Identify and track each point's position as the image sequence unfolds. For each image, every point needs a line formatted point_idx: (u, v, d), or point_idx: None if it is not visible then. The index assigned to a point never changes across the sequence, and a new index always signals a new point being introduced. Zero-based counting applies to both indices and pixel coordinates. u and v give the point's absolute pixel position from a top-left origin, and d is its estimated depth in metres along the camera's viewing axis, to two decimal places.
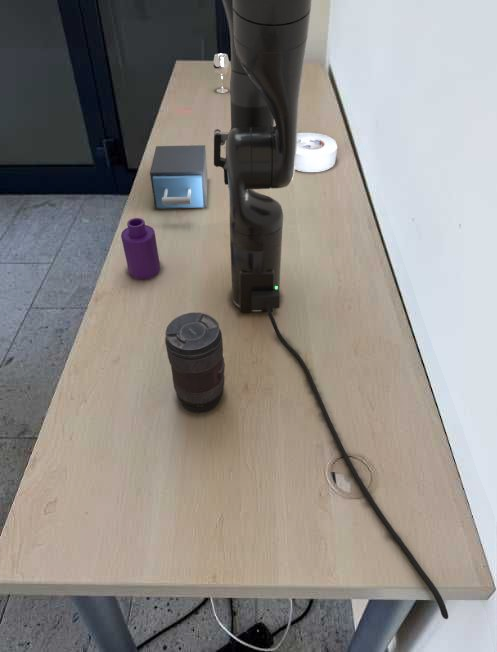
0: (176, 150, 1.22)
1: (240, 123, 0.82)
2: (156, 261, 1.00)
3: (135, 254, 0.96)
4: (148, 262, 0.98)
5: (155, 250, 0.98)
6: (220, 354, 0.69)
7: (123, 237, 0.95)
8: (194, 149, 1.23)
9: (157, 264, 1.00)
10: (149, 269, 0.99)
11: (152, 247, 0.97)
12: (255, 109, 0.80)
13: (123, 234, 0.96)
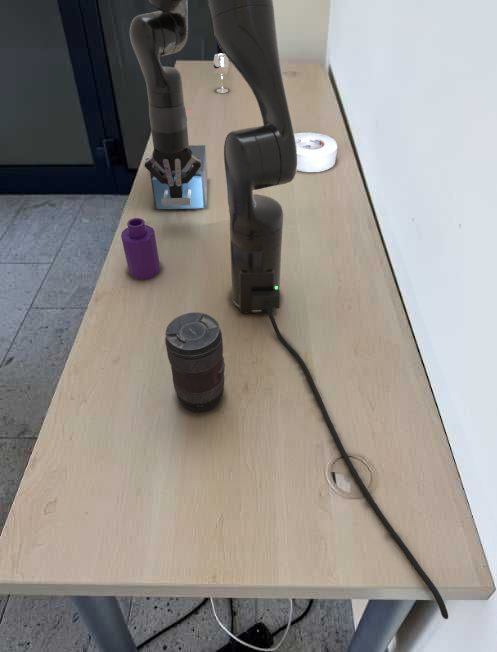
0: None
1: (158, 145, 1.01)
2: (156, 261, 1.00)
3: (135, 254, 0.96)
4: (148, 262, 0.98)
5: (155, 250, 0.98)
6: (220, 354, 0.69)
7: (123, 237, 0.95)
8: (194, 149, 1.23)
9: (157, 264, 1.00)
10: (149, 269, 0.99)
11: (152, 247, 0.97)
12: (169, 134, 0.99)
13: (123, 234, 0.96)
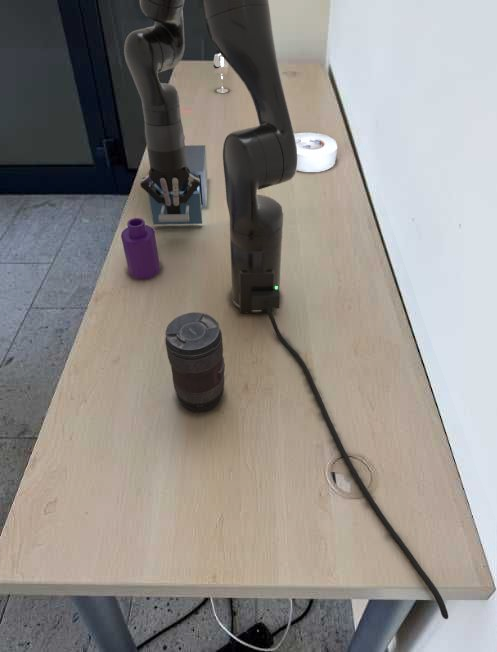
0: None
1: (155, 164, 0.97)
2: (156, 261, 1.00)
3: (135, 254, 0.96)
4: (148, 262, 0.98)
5: (155, 250, 0.98)
6: (220, 354, 0.69)
7: (123, 237, 0.95)
8: (194, 149, 1.23)
9: (157, 264, 1.00)
10: (149, 269, 0.99)
11: (152, 247, 0.97)
12: (166, 153, 0.94)
13: (123, 234, 0.96)
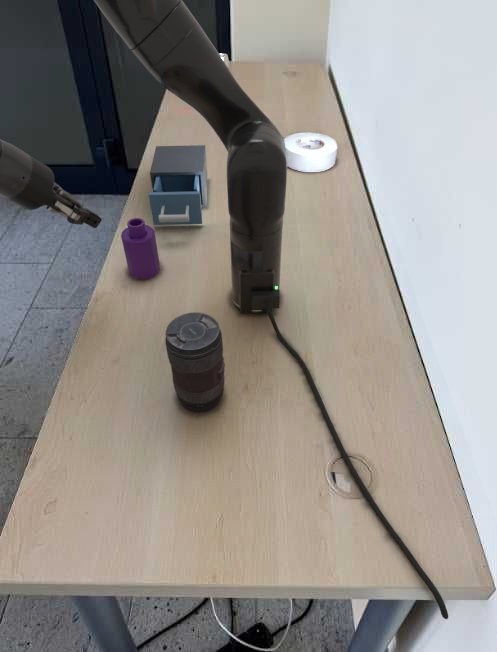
0: (176, 150, 1.22)
1: (47, 174, 0.74)
2: (156, 261, 1.00)
3: (135, 254, 0.96)
4: (148, 262, 0.98)
5: (155, 250, 0.98)
6: (220, 354, 0.69)
7: (123, 237, 0.95)
8: (194, 149, 1.23)
9: (157, 264, 1.00)
10: (149, 269, 0.99)
11: (152, 247, 0.97)
12: (29, 155, 0.74)
13: (123, 234, 0.96)
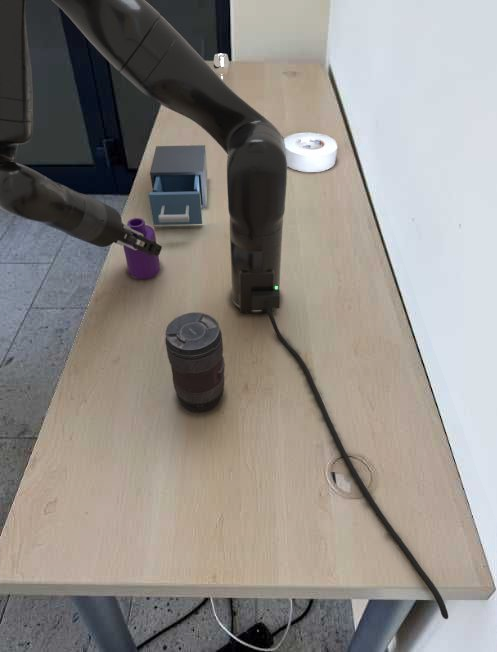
0: (176, 150, 1.22)
1: (115, 213, 0.86)
2: (156, 261, 1.00)
3: (136, 254, 0.96)
4: (148, 262, 0.98)
5: None
6: (220, 354, 0.69)
7: None
8: (194, 149, 1.23)
9: (157, 264, 1.00)
10: (149, 269, 0.99)
11: None
12: None
13: None
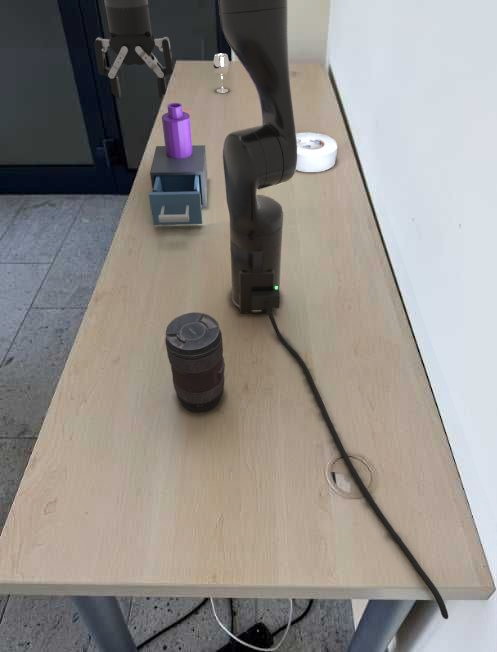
0: None
1: (114, 25, 0.86)
2: (190, 143, 1.18)
3: (174, 133, 1.14)
4: (184, 142, 1.16)
5: (189, 132, 1.17)
6: (220, 354, 0.69)
7: (164, 118, 1.14)
8: (194, 149, 1.23)
9: (190, 146, 1.19)
10: (184, 149, 1.18)
11: (187, 128, 1.15)
12: (125, 10, 0.84)
13: (163, 117, 1.14)
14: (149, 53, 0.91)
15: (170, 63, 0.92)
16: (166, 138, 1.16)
